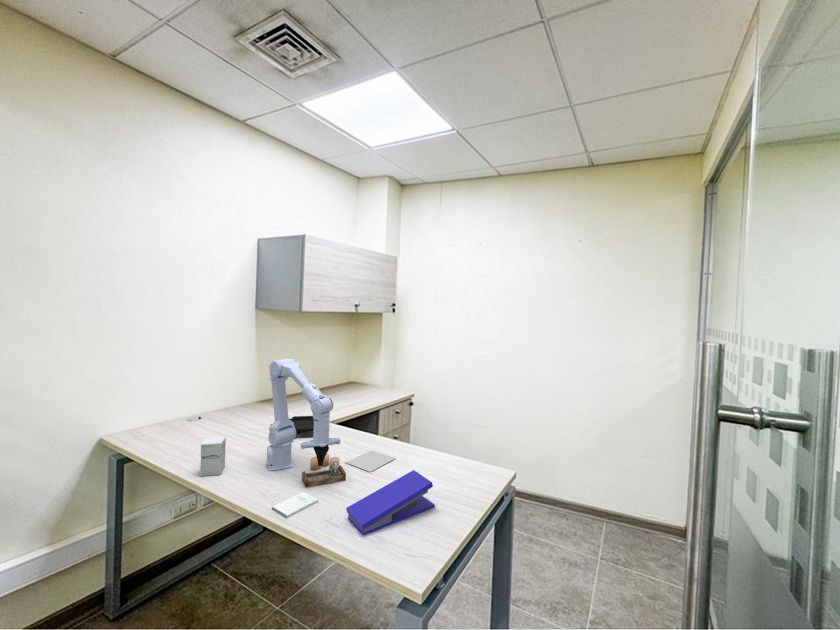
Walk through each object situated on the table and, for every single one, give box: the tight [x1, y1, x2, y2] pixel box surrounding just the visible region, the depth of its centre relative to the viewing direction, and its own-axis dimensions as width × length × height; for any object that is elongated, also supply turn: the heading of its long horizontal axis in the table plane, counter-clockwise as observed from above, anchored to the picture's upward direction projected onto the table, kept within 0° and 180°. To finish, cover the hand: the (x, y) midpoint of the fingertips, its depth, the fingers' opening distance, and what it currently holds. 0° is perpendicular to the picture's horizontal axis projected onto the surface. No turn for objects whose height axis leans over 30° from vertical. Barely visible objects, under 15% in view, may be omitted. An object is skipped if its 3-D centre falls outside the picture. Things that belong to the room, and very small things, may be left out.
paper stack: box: [345, 449, 396, 473], centre depth 155 cm, size 23×25×1 cm
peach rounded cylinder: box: [320, 453, 330, 468], centre depth 156 cm, size 4×4×4 cm
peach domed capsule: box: [309, 456, 322, 472], centre depth 152 cm, size 4×4×4 cm
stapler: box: [345, 469, 436, 537], centre depth 122 cm, size 12×28×10 cm, turn 128°
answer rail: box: [301, 464, 347, 489], centre depth 143 cm, size 15×7×3 cm, turn 117°
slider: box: [330, 461, 341, 477], centre depth 144 cm, size 3×5×5 cm, turn 27°
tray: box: [270, 415, 314, 436], centre depth 195 cm, size 30×23×5 cm
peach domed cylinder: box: [328, 456, 340, 470], centre depth 152 cm, size 4×4×4 cm
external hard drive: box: [271, 491, 319, 519], centre depth 125 cm, size 2×8×12 cm
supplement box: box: [199, 436, 227, 477], centre depth 146 cm, size 7×7×13 cm
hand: (320, 464), depth 142 cm, fingers closed
